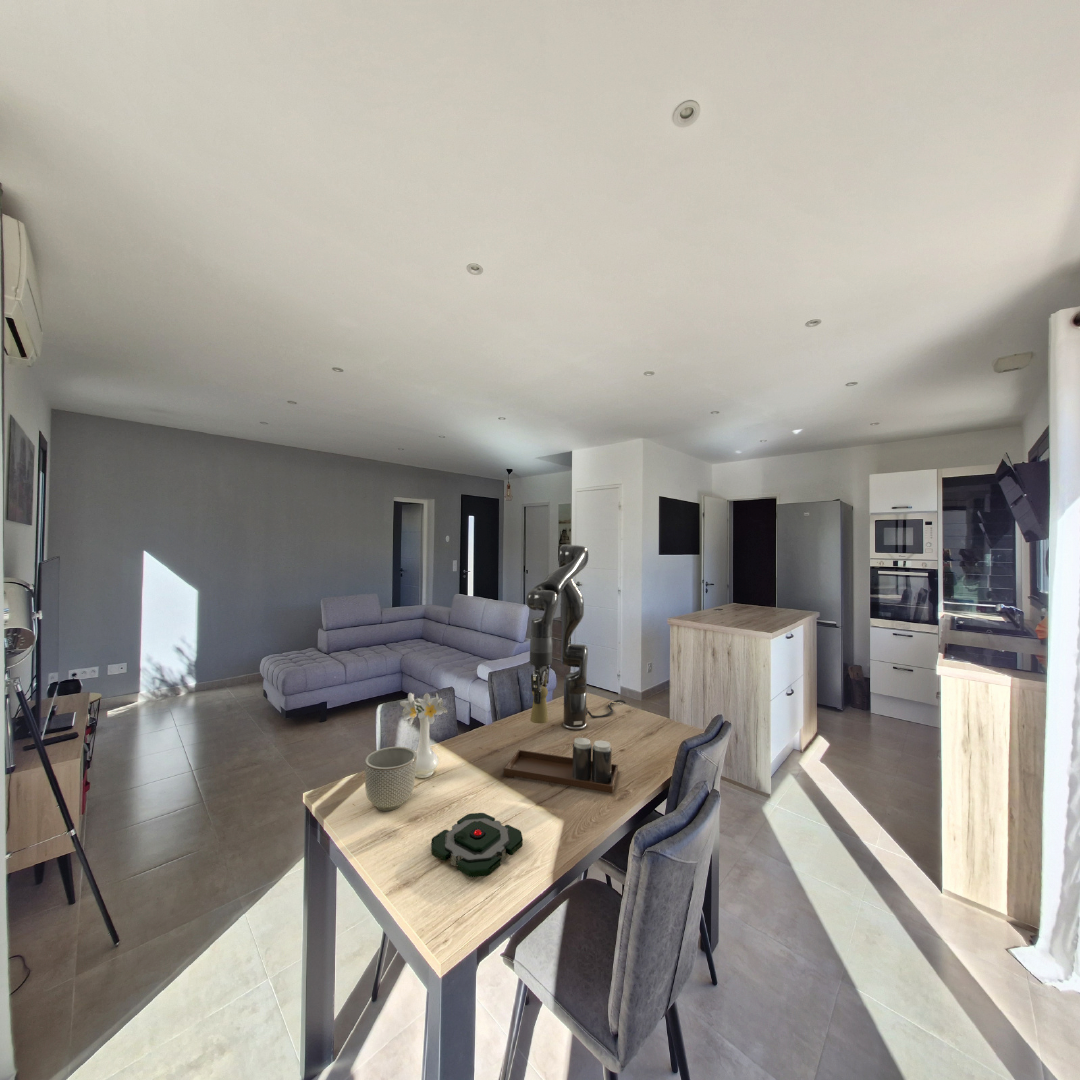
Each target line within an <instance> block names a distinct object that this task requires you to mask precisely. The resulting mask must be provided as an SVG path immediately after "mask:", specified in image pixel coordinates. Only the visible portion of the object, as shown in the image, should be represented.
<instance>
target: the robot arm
mask: <svg viewBox="0 0 1080 1080" xmlns="http://www.w3.org/2000/svg"><path fill="white" fill-rule="evenodd" d="M557 557H558V558H557V559H558V568H556V569H554V570H553V571H551V572H550V573H549V574H548V575H547V577H546V578H545V579H544V581H542V582H540V583H539V584H537V585H535V586H534V587H532V588H531V589H530V590H529V591H528V593H527V595H526V599H525V603H526V605H527V608H529V610H532V611H540V612H543V615H542V616H538V617H534V618H533V619H532V620H531V622H530V641H529V664H530V665H531V666H534V669H533V671H532V673H531V674H530V687H531V692H532V691H533V692H534V696H533V699H534V703H535V704H540V703H541V689H542V686H544V687H546V688H547V687H548V684H549V680H550V679H549V678H550V669H551V668H550V666H551V665H552V664H553V622H554V618H555V615H556V612H557V607H558V605H559V597H558V596H559V595H560V619H561V620H560V621H561V644H560V645H561V646H560V647H561V648H560V662H561V664H562V666H564V667H569V668H570V667H571V668H578V670H576V671H574V672H571V673H568V674H566V675H565V676H564V679H563V681H564V682H563V717H562V719H563V722H562V726H563V728H565V729H568V730H574V731H580V730H584V729H586V728H587V716H590V717H591V718H593V719H597V718H605V717H609V716H611V715H612V714H613V713H614V709H613V708H612V707H611V706H612V705H614V704H615V703H612V702H616V703H623V704H627V702H626V701H625V700H623V699H616V700H614V701H611V702H609V703H608V705H607V708H608V709H609V710H610V712H608V713H605V714H602V715H593V713H591V711H589V710H588V709H589V707H587V685H588V684H587V681H588V680H587V679H588V658H589V649H588V646H587V645H586V644H582V643H581V644H580V643H570V640H571V637H572V636H573V634H574V631H575V630H576V629H577V628H578V626H579V625H580V623H581V622H582V620H583V618H584V616H585V601H584V597H583V595H582V593H581V591H580V589H579V588H578V587H577V585H576V583H575V581H574V579H573V578H575V577H576V576H577V575H578V574H579V573H580V572H581V571H582V570H584V569H585V568H586V566H587V564H588V562H589V550H588V548H587V547H585V546H583V545H578V544H577V545H576V544H562V545H561V546H560V547H559V549H558V556H557ZM536 686H537V688H536ZM609 704H610V705H609Z"/></svg>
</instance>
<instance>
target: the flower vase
mask: <svg viewBox="0 0 1080 1080" xmlns="http://www.w3.org/2000/svg"><path fill="white" fill-rule="evenodd" d="M435 695H436V697H431V695H430V693H428V692H426V693H425V694H424V695H423V698H415V693H412V692H409V693H408V694H407V700H401V701H399V705H400V706H401V707H403V709H402V711H401V713H402V714H401V716H403V717H402V719H403V721H408V720H409V721H408V726H409V727H412V725H413V722H414V720H415V718H418V719H419V721H418V722H419V737H418V745H417V748H416V751H415V752H416V755H417V763H416V774H415V778H417V779H425V778H428V777H429V778H430V777H431V776H432V775H433V774H434V772H435V770H436V769H438V766H439V763H440V760H439V756H438V755H437V753H436V752H435V751H434V750H433V749H432V746H431V740H430V738H431V737H430V728H431V727H430V726H431V725H433V724H434V723H435V720H436V718H435V716H441V715H443V714H445V715H447V714H448V713H449V711H448V710H447V709H446V707H445V706H443V704H444V700H443V698H442V697H440V698H439V694H438V692H436V693H435Z"/></svg>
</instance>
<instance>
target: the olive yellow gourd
mask: <svg viewBox="0 0 1080 1080" xmlns="http://www.w3.org/2000/svg"><path fill="white" fill-rule="evenodd" d="M536 688H537V686H536ZM531 693H532V697H534V692H533V691H532V690H531ZM548 695H549V690H548V688H547V687H544V686H542V689H541V703H540V704H535V703H534V698H533V699H532V706H531V713H530V719H529V720H530V722H531V723H534V724H541V725H542V724H547V723H548V722H549V715H548V713H549V712H548V704H547V697H548Z"/></svg>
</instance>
